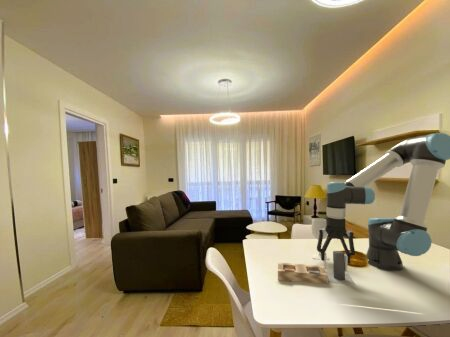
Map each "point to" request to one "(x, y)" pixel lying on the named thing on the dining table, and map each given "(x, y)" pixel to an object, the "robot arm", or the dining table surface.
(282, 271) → the socket block
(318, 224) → the wineglass
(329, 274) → the pad
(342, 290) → the dining table surface
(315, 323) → the dining table surface
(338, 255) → the plug
